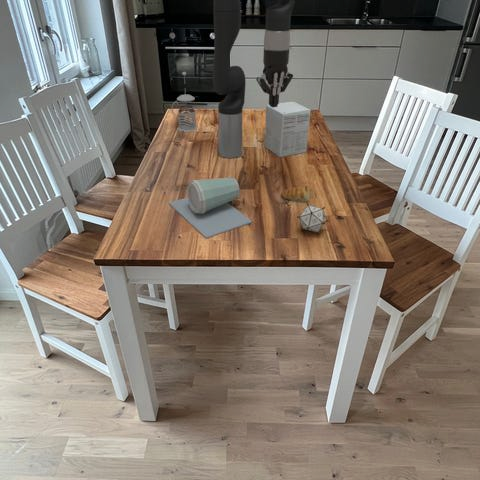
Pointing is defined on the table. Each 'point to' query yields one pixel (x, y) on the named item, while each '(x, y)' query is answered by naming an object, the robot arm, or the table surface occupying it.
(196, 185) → the disposable coffee cup
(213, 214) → the mat
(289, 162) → the table surface
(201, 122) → the table surface
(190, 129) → the french press
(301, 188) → the pastry
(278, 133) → the supplement box
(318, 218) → the game die
